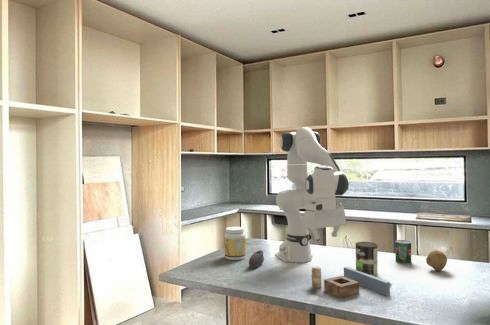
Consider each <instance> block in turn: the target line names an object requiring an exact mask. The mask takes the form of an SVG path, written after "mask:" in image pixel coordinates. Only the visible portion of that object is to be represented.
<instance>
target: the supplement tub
mask: <svg viewBox="0 0 490 325" xmlns="http://www.w3.org/2000/svg"><path fill="white" fill-rule="evenodd" d="M223 237H224V246H223V247H224V258H225V259H227V260H228V261H241V260H243V259H245V258H246V256H247V255H246V254H247V253H246V251H247V250H246V249H247V248H246V247H247V246H246V245H247V242H246V240H247V239H246V237H247V236H246V233H245V228H244V227H242V226H228V227H226V228H225V233H224V236H223Z"/></svg>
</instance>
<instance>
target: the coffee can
mask: <svg viewBox="0 0 490 325" xmlns="http://www.w3.org/2000/svg"><path fill="white" fill-rule="evenodd" d="M354 245H355V270H357V271H360V272H363V273H366V274H369V275H371V276H374V277H377V275H378V274H379V273H378V247H379V246H378V244H377V243H375V242H370V241H359V242H357V241H356V242H355V244H354Z"/></svg>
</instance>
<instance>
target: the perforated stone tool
mask: <svg viewBox="0 0 490 325" xmlns="http://www.w3.org/2000/svg"><path fill="white" fill-rule="evenodd" d="M264 260H265V256H264V251H263V250H260V249H259V250H258V251H255V252H254V253H253V254H252V255H251V256H250V257H249V260H248V266H249V268H250V269H256V268H258V267H259V266H261V265H262V263H264Z"/></svg>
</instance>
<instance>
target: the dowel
mask: <svg viewBox="0 0 490 325" xmlns="http://www.w3.org/2000/svg"><path fill="white" fill-rule="evenodd" d="M311 288H315V289H320V288H322V268H321V267H319V266H313V267H311Z"/></svg>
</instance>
